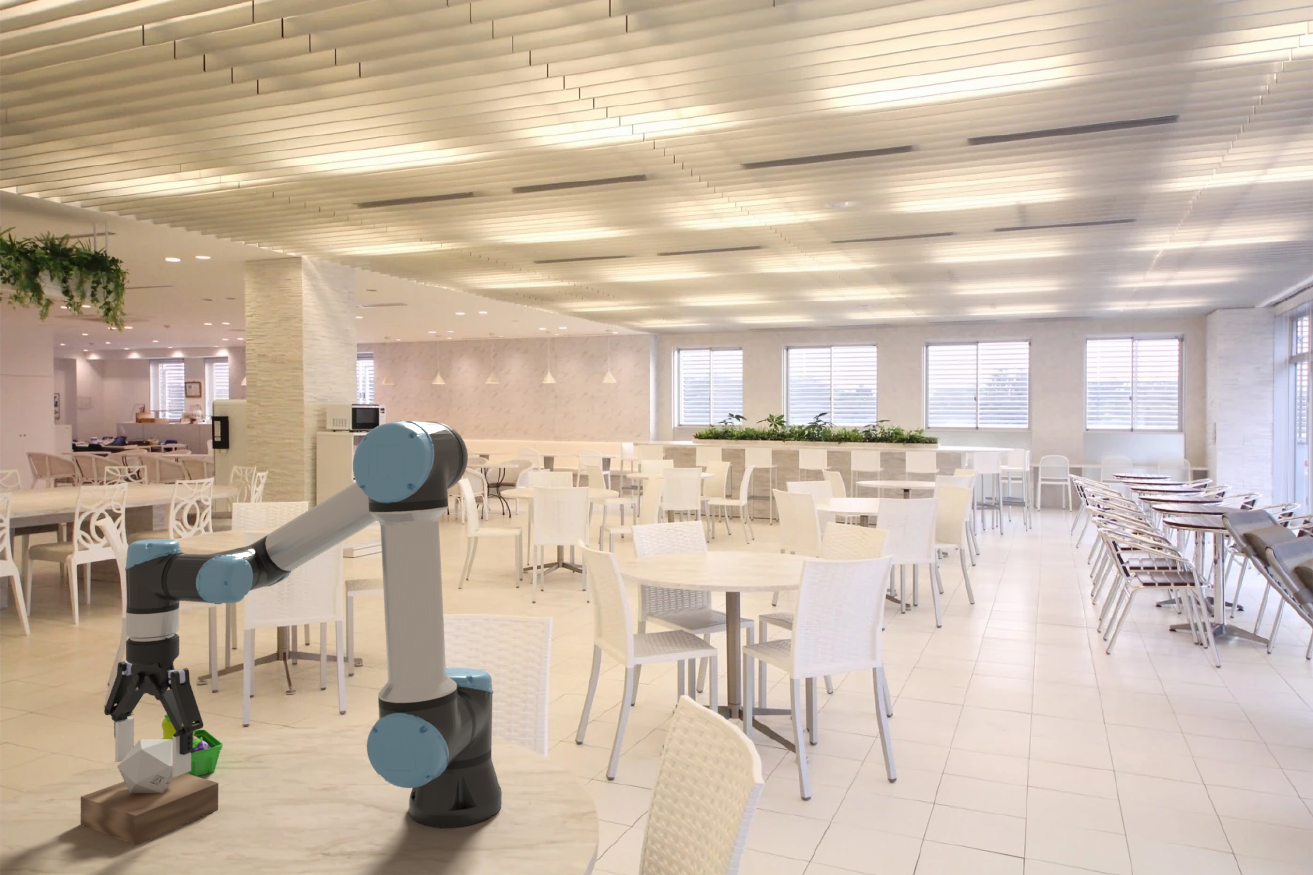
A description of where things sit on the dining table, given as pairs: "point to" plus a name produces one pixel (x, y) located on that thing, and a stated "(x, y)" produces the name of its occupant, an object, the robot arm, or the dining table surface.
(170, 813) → the walnut block
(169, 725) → the fruit basket
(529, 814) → the dining table surface
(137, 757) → the die
